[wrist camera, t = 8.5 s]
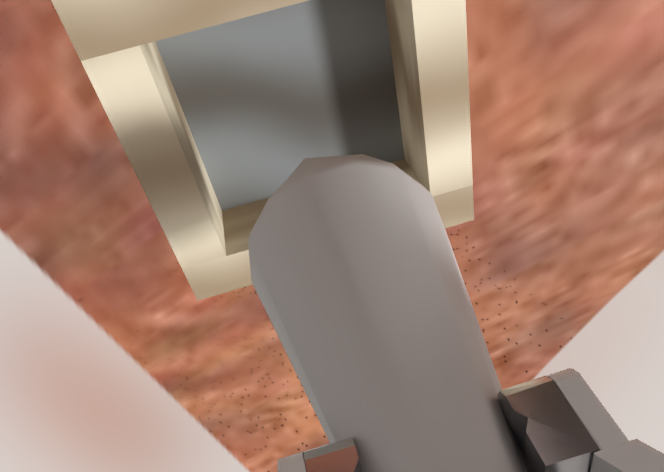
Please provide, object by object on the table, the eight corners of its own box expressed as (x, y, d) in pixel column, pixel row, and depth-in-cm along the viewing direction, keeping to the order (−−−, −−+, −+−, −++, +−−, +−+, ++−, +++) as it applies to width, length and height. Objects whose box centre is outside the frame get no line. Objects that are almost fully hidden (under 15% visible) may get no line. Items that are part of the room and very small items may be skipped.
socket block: (71, -27, 20) (50, -1, 17) (419, -116, 21) (461, -108, 18) (196, 248, 29) (197, 300, 25) (442, 178, 29) (473, 219, 26)
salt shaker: (266, 294, 20) (357, 803, 9) (216, 156, 16) (274, 730, 6) (423, 249, 20) (675, 693, 10) (407, 104, 16) (781, 560, 6)
